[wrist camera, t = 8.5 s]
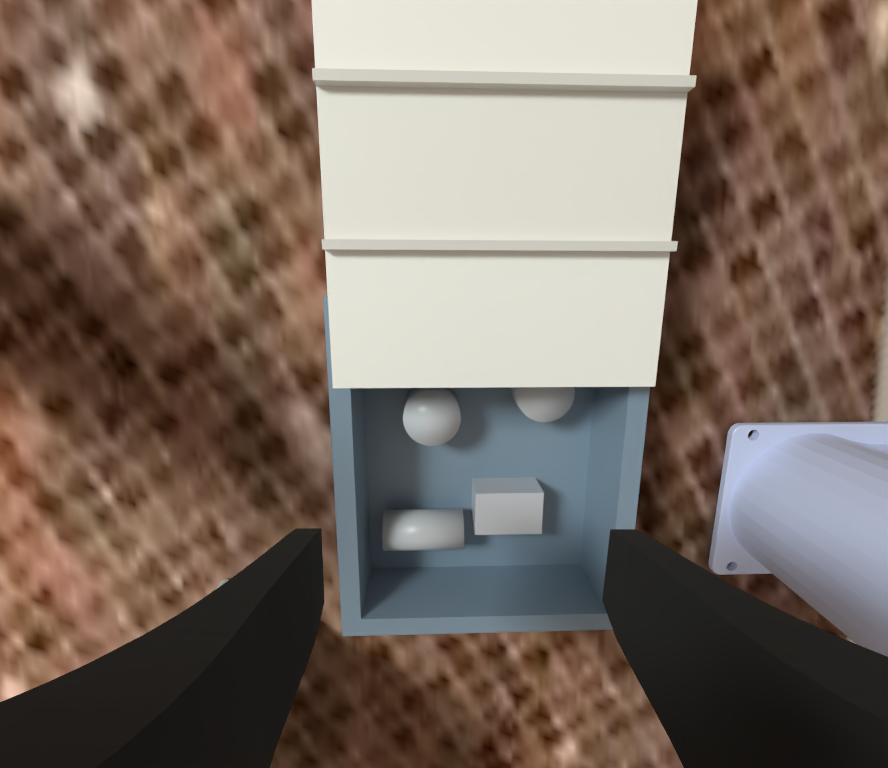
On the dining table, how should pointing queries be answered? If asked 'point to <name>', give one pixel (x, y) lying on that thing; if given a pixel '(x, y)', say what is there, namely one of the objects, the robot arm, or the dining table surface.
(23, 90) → the dining table surface
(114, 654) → the robot arm
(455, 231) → the lid
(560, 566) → the tub
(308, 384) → the dining table surface
